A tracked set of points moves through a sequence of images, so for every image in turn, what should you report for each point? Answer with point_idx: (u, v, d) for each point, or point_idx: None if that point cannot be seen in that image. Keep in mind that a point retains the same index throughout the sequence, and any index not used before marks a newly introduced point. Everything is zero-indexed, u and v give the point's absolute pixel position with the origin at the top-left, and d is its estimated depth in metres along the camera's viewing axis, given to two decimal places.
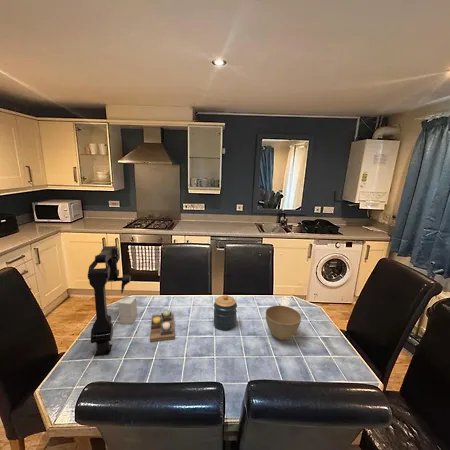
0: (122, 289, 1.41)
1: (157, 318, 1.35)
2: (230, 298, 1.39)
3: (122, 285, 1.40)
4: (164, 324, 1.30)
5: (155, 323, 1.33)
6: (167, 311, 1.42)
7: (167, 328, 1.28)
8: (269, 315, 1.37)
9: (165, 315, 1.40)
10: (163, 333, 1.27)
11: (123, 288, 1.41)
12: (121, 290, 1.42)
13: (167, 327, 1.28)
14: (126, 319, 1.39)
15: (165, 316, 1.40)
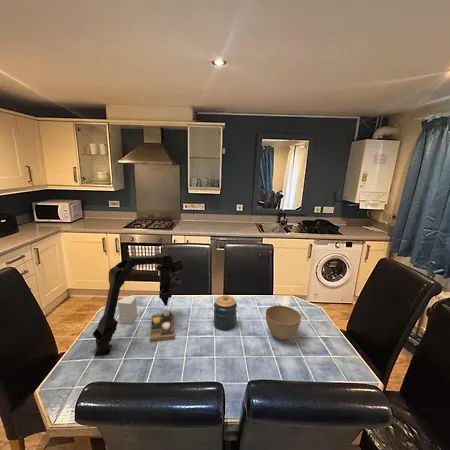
0: None
1: (157, 318, 1.35)
2: (230, 298, 1.39)
3: None
4: (164, 324, 1.30)
5: (155, 323, 1.33)
6: (167, 311, 1.42)
7: (167, 328, 1.28)
8: (269, 315, 1.37)
9: (165, 315, 1.40)
10: (163, 333, 1.27)
11: (162, 300, 1.34)
12: (163, 301, 1.36)
13: (167, 327, 1.28)
14: (126, 319, 1.39)
15: (165, 316, 1.40)
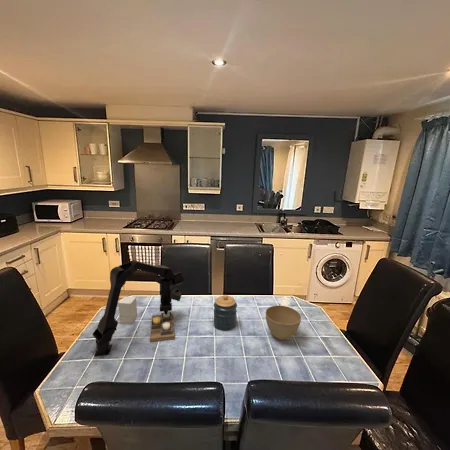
0: None
1: (157, 318, 1.35)
2: (230, 298, 1.39)
3: None
4: (164, 324, 1.30)
5: (155, 323, 1.33)
6: (167, 313, 1.42)
7: (167, 328, 1.28)
8: (269, 315, 1.37)
9: (165, 317, 1.40)
10: (163, 333, 1.27)
11: None
12: (163, 310, 1.40)
13: (167, 327, 1.28)
14: (126, 319, 1.39)
15: None
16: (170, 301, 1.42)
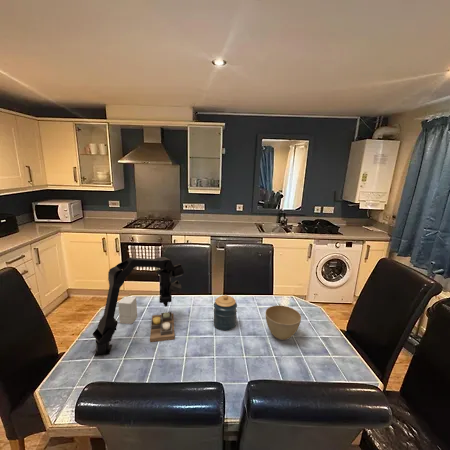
0: None
1: (157, 318, 1.35)
2: (230, 298, 1.39)
3: None
4: (164, 324, 1.30)
5: (155, 323, 1.33)
6: (167, 313, 1.42)
7: (167, 328, 1.28)
8: (269, 315, 1.37)
9: (165, 317, 1.40)
10: (163, 333, 1.27)
11: None
12: (163, 302, 1.39)
13: (167, 327, 1.28)
14: (126, 319, 1.39)
15: None
16: (170, 293, 1.40)
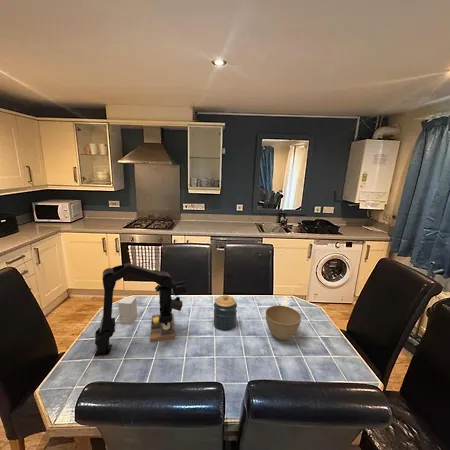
0: None
1: (157, 318, 1.35)
2: (230, 298, 1.39)
3: None
4: (164, 324, 1.30)
5: (155, 323, 1.33)
6: None
7: (167, 328, 1.29)
8: (269, 315, 1.37)
9: None
10: (163, 333, 1.27)
11: None
12: None
13: (167, 327, 1.28)
14: (126, 319, 1.39)
15: None
16: (170, 311, 1.30)
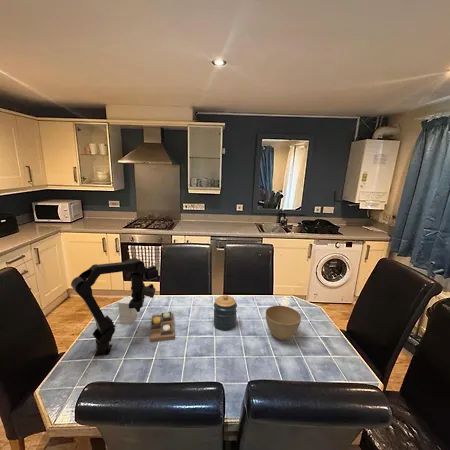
0: None
1: (157, 318, 1.35)
2: (230, 298, 1.39)
3: None
4: (164, 327, 1.30)
5: (155, 323, 1.33)
6: (167, 313, 1.42)
7: None
8: (269, 315, 1.37)
9: (165, 317, 1.40)
10: (163, 333, 1.27)
11: None
12: (135, 308, 1.27)
13: (167, 330, 1.29)
14: (126, 319, 1.39)
15: None
16: (143, 298, 1.29)
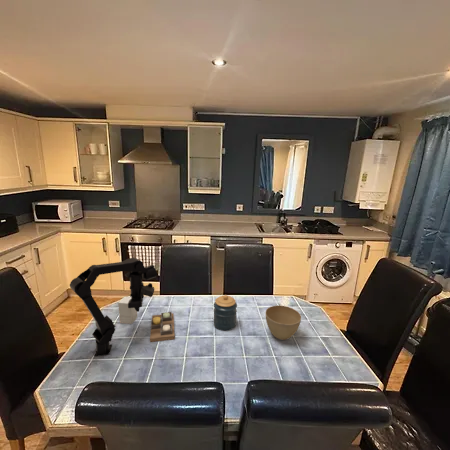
0: None
1: (157, 318, 1.35)
2: (230, 298, 1.39)
3: None
4: (164, 327, 1.30)
5: (155, 323, 1.33)
6: (167, 313, 1.42)
7: None
8: (269, 315, 1.37)
9: (165, 317, 1.40)
10: (163, 333, 1.27)
11: None
12: (134, 307, 1.28)
13: (167, 330, 1.29)
14: (126, 319, 1.39)
15: None
16: (142, 297, 1.29)
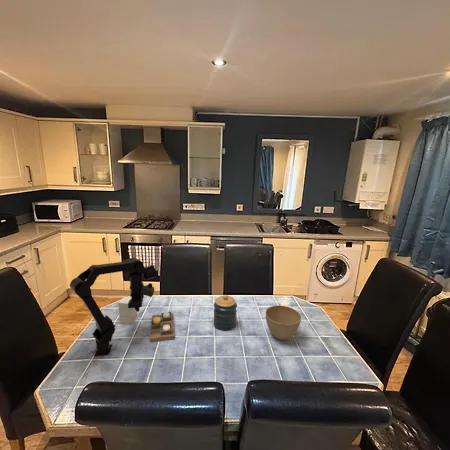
0: None
1: (157, 318, 1.35)
2: (230, 298, 1.39)
3: None
4: (164, 327, 1.30)
5: (155, 323, 1.33)
6: (167, 313, 1.42)
7: None
8: (269, 315, 1.37)
9: (165, 317, 1.40)
10: (163, 333, 1.27)
11: None
12: (134, 307, 1.28)
13: (167, 330, 1.29)
14: (126, 319, 1.39)
15: None
16: (142, 297, 1.29)
